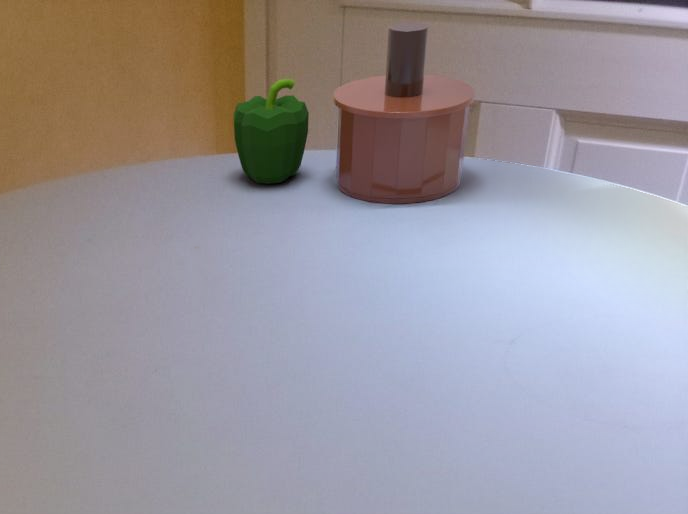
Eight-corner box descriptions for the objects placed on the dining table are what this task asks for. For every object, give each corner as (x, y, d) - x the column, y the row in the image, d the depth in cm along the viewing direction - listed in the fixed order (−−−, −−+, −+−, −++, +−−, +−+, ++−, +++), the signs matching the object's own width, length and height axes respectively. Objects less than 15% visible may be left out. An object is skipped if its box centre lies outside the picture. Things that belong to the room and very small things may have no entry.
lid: (458, 82, 110) (466, 7, 105) (487, 120, 99) (498, 38, 94) (326, 90, 110) (328, 16, 105) (341, 129, 99) (344, 48, 94)
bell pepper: (231, 190, 110) (227, 92, 104) (238, 166, 116) (236, 72, 110) (305, 189, 109) (307, 90, 103) (309, 165, 115) (310, 70, 109)
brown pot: (446, 159, 114) (455, 78, 109) (471, 199, 104) (482, 112, 99) (330, 166, 115) (333, 85, 109) (344, 207, 105) (347, 120, 99)
